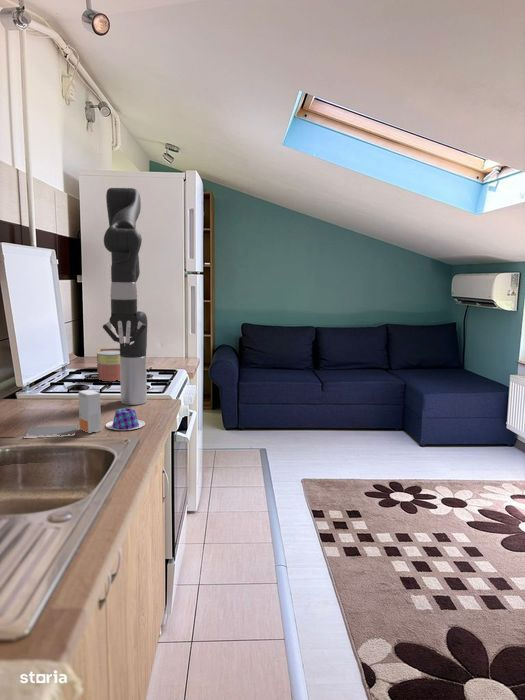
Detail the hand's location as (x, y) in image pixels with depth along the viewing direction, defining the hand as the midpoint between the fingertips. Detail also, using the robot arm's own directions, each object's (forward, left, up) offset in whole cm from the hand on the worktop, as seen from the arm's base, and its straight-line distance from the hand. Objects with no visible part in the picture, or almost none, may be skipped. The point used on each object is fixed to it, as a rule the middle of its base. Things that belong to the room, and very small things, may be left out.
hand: (124, 355), depth 164 cm
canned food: (-74, -6, -23) cm, 78 cm away
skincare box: (0, -10, -23) cm, 25 cm away
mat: (0, -21, -23) cm, 31 cm away
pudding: (-4, 0, -23) cm, 24 cm away
